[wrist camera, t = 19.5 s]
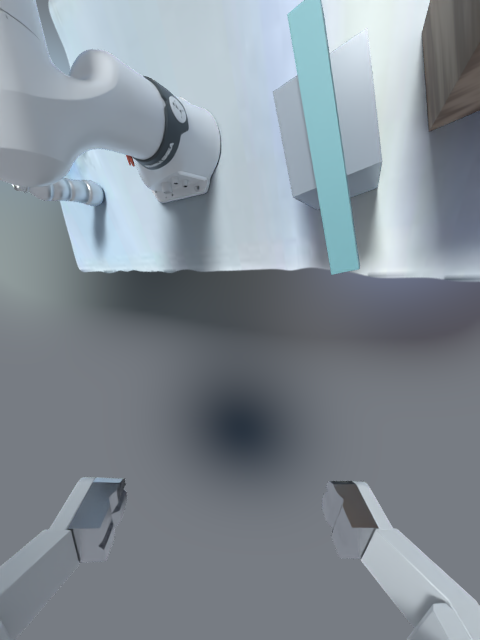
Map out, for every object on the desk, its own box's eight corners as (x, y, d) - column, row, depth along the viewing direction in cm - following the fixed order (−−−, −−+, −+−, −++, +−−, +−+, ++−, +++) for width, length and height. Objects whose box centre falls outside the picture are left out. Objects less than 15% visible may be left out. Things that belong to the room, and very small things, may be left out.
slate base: (316, 209, 43) (292, 197, 30) (304, 139, 41) (272, 91, 28) (377, 187, 38) (382, 161, 25) (367, 105, 36) (367, 27, 22)
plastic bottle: (108, 189, 67) (22, 174, 50) (104, 211, 71) (22, 203, 54) (94, 177, 68) (6, 158, 52) (91, 199, 72) (7, 188, 55)
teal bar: (334, 271, 30) (331, 274, 28) (295, 36, 25) (287, 14, 23) (359, 266, 29) (358, 269, 26) (323, 14, 23) (318, -12, 21)
